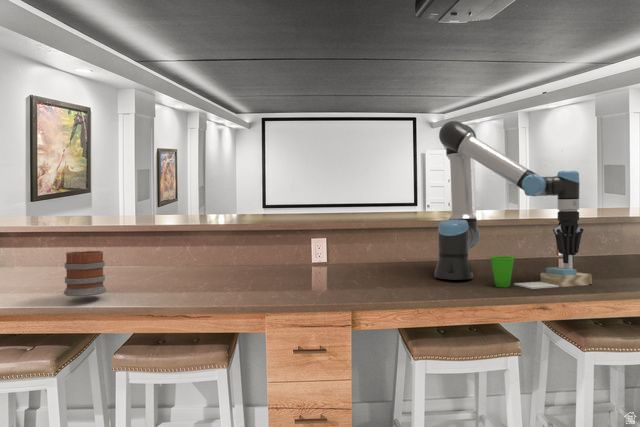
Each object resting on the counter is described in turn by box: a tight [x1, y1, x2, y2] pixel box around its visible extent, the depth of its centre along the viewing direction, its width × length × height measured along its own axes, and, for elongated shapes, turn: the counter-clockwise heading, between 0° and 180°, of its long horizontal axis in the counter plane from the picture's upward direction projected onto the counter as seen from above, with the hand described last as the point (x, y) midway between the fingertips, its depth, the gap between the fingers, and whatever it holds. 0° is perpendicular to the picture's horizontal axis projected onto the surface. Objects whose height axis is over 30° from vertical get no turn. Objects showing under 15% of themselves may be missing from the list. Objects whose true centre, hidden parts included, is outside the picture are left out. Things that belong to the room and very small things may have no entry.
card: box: [545, 266, 578, 276], centre depth 191 cm, size 6×9×2 cm, turn 19°
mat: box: [513, 281, 560, 290], centre depth 188 cm, size 12×10×1 cm
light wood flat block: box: [540, 271, 593, 288], centre depth 192 cm, size 15×10×4 cm, turn 108°
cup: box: [489, 255, 516, 288], centre depth 188 cm, size 9×9×11 cm
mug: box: [63, 250, 107, 297], centre depth 182 cm, size 14×19×15 cm
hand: (568, 271), depth 192 cm, fingers closed
